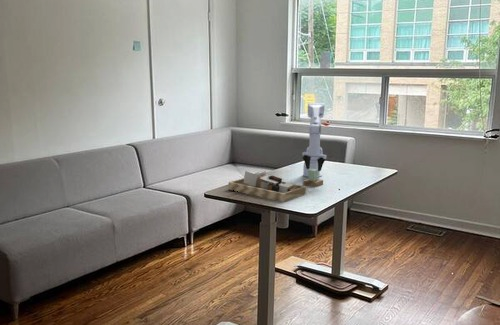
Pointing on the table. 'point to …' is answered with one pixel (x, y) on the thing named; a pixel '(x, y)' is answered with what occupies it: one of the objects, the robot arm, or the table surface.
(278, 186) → the toy
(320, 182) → the walnut plinth
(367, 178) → the table surface
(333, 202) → the table surface
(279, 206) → the table surface
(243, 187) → the tray
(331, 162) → the table surface
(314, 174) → the green block
